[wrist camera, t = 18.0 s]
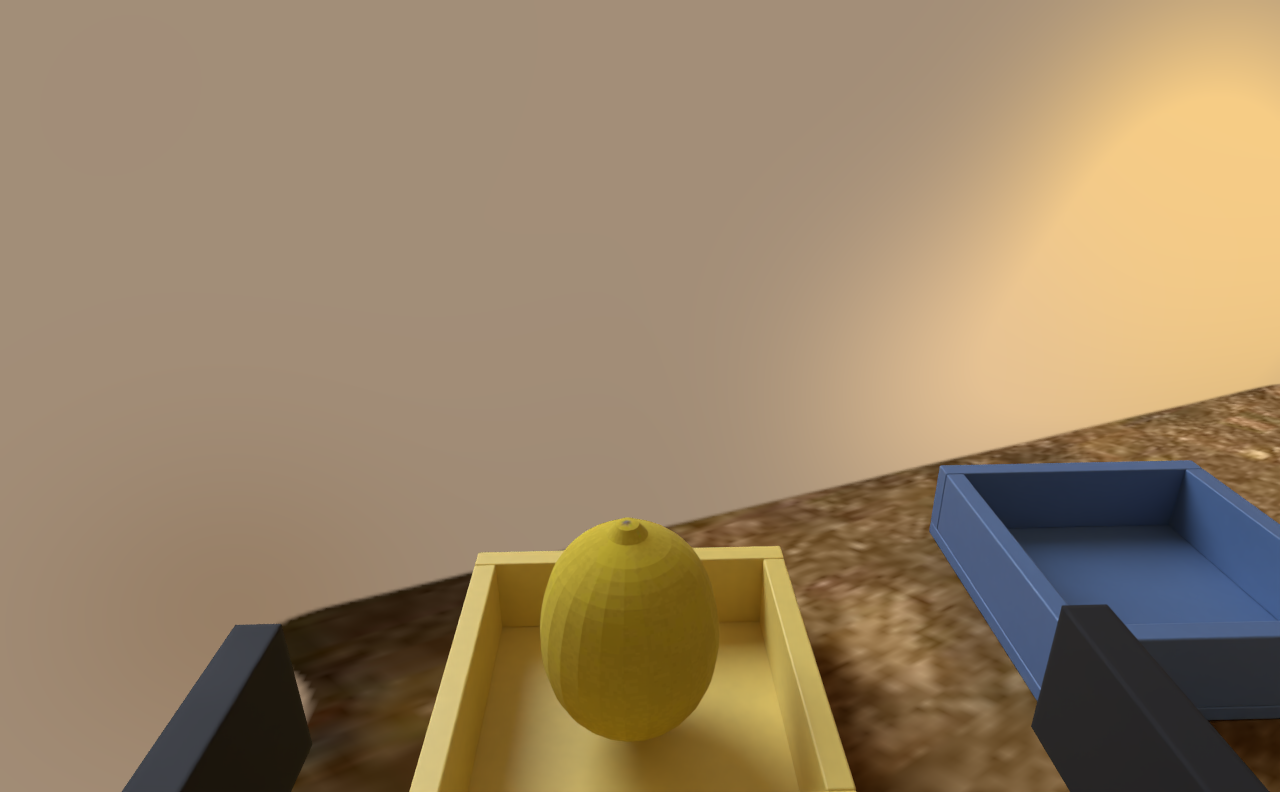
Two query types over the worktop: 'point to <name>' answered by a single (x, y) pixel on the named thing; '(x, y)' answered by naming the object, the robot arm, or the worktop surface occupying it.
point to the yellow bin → (641, 770)
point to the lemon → (629, 630)
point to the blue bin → (1123, 568)
